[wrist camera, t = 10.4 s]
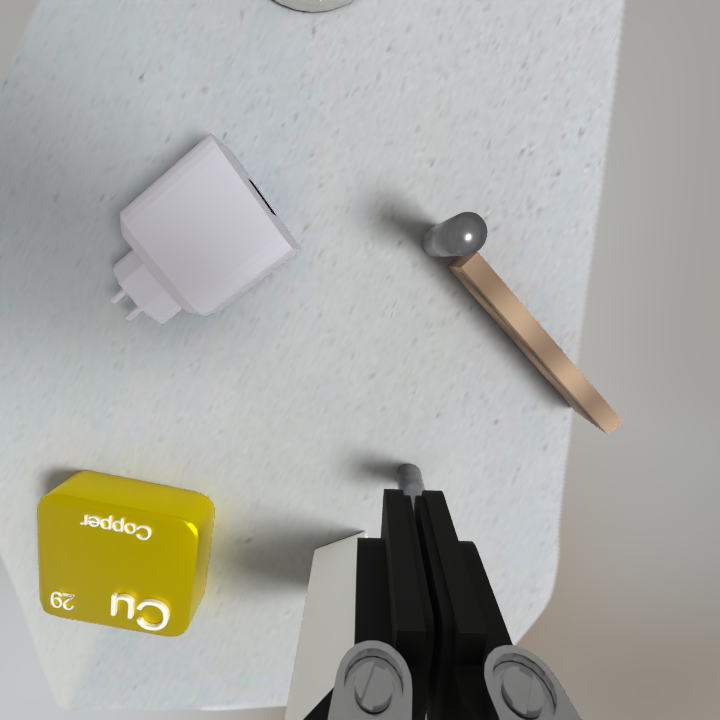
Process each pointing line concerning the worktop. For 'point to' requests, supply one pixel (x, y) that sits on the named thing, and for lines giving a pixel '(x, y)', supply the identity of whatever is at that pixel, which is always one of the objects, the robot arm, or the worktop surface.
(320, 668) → the milk
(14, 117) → the worktop surface
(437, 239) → the hinge post
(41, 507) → the element tile
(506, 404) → the worktop surface
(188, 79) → the worktop surface
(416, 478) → the latch post
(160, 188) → the charger
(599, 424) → the gate
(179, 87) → the worktop surface
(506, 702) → the robot arm
